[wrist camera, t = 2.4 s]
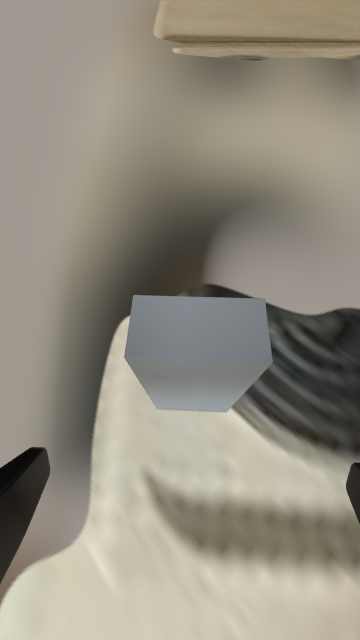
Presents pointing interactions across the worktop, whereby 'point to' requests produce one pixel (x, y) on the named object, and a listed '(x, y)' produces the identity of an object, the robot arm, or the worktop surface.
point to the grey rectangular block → (197, 349)
